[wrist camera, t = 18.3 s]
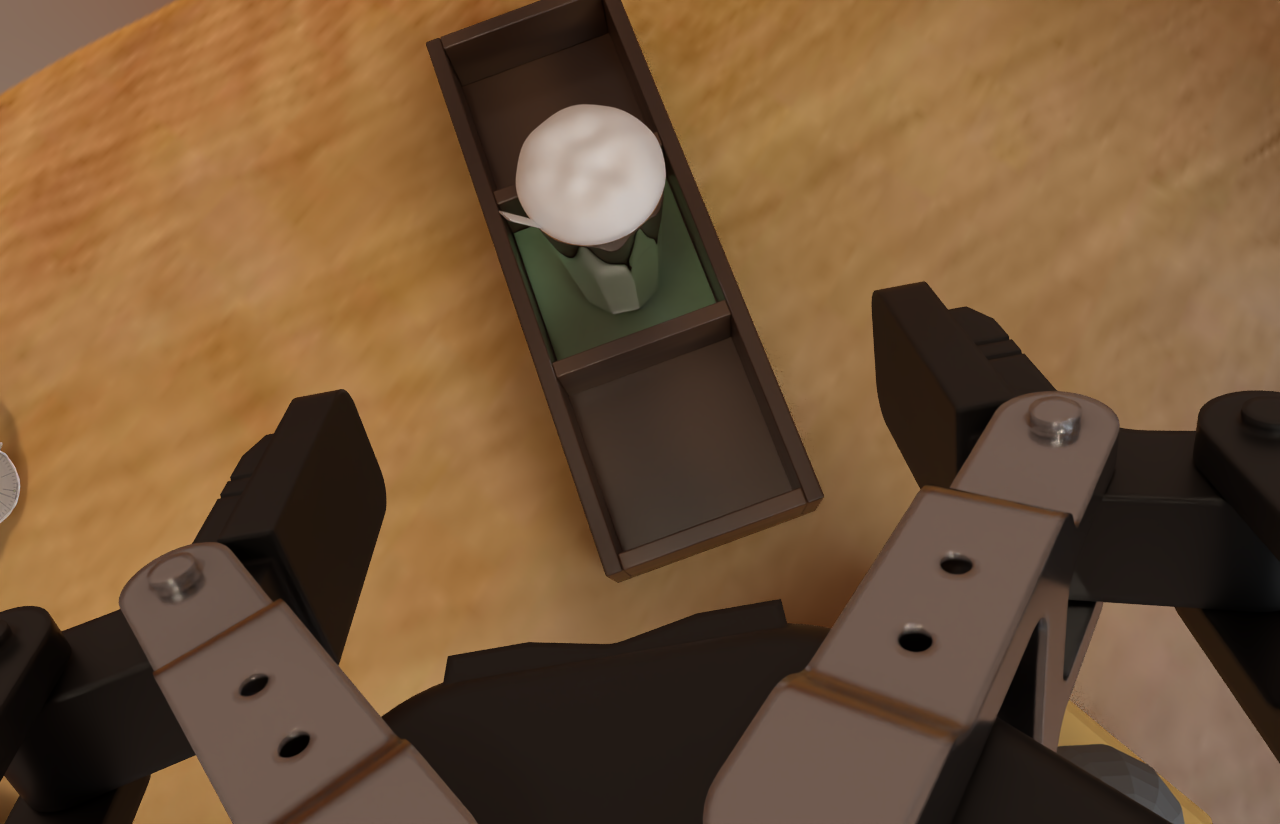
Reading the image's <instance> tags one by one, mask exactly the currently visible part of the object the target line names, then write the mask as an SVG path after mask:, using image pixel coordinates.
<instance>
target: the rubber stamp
mask: <svg viewBox="0 0 1280 824" xmlns="http://www.w3.org/2000/svg"><path fill="white" fill-rule="evenodd" d="M1056 753H1057V754H1059V755H1061V756H1062V757H1064V758H1065V759H1067V760H1069V761H1070V762H1072V763H1074V764H1075V765H1077V766H1079V767H1080V768H1082V769H1084V770H1085V771H1087V772H1089V773H1090V774H1092V775H1093V776H1095V777H1097V778H1098V779H1100V780H1102V781H1103V782H1105V783H1107V784H1108V785H1110V786H1112V787H1113V788H1115V789H1117V790H1118V791H1120V792H1121V793H1123V794H1125V795H1126V796H1128V797H1130V798H1131V799H1133V800H1135V801H1136V802H1138V803H1140V804H1141V805H1143V806H1145V807H1146V808H1148V809H1150V810H1151V811H1153V812H1154V813H1156V814H1158V815H1159V816H1161V817H1163V818H1164V819H1166V820H1168V821H1169V822H1171V823H1173V824H1213V823H1212V820H1211V818H1210V817H1209V816H1208V814H1206V813H1205V812H1204V811H1203V810H1202V809H1200V808H1199V807H1198V806H1197V805H1195V804H1194V803H1193V802H1192V801H1191V800H1189V799H1188V798H1187V797H1186V796H1185V795H1183V794H1182V793H1181V792H1180V791H1179V790H1177V789H1176V788H1175V787H1174V786H1173V785H1171V784H1170V783H1169V782H1168V781H1166V780H1165V779H1164V778H1163V777H1162V776H1160V775H1159V774H1158V773H1157V772H1156V771H1155V770H1154V769H1153V768H1152V767H1150V766H1149V765H1148V764H1146V763H1145V762H1144V761H1142V760H1141V759H1140V758H1139V757H1137V756H1136V755H1135V754H1134V753H1133V752H1131V751H1130V750H1129V749H1128V748H1127V747H1125V746H1124V745H1123V744H1122V743H1121V742H1119V741H1118V740H1117V739H1116V738H1115V737H1113V736H1112V735H1111V734H1110V733H1108V732H1107V731H1106V730H1105V729H1104V728H1102V727H1101V726H1100V725H1099V724H1098V723H1096V722H1095V721H1094V720H1093V719H1092V718H1090V717H1089V716H1088V715H1087V714H1086V713H1084V712H1083V711H1082V710H1081V709H1079V708H1078V707H1077V706H1076V705H1075V704H1073V703H1072V702H1071V701H1070V700H1069V701H1068V704H1067V707H1066V710H1065V714H1064V717H1063V721H1062V726H1061V731H1060V736H1059V742H1058V747H1057V752H1056Z"/></svg>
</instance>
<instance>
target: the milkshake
mask: <svg viewBox="0 0 1280 824" xmlns="http://www.w3.org/2000/svg"><path fill="white" fill-rule="evenodd" d="M665 180H666V169H665V162H664V158H663V154H662V150H661V147H660V145H659V142H658V140H657V138H656V137H655V135H654V134H653V133H652V131H651V130H650V129H649V128H648V127H647V126H646V125H645V124H643V123H642V122H641V121H640V120H638V119H637V118H635V117H634V116H632V115H631V114H629V113H627V112H625V111H623V110H620V109H617V108H613V107H608V106H601V105H589V104H582V105H574V106H570V107H567V108H565V109H562V110H560V111H558V112H556V113H555V114H553V115H552V116H551V117H549V118H548V119H547V120H545V121H544V122H543V123H542V124H541V125H539V126H538V127H537V128H536V129H535V130H533V131H532V132H531V133H530V135H529V136H528V137H527V139H526V140H525V142H524V144H523V146H522V148H521V151H520V155H519V159H518V165H517V172H516V190H517V195H518V198H519V201H520V203H521V205H522V207H523V209H524V211H525V212H526V214H527V215H528V217H529V218H530V219H529V218H526V217H522V216H518V215H514V214H511V213H507V212H503V211H499V213H500V214H502V215H503V216H504V217H505V218H506V219H507V220H509V221H511V222H515V223H519V224H523V225H527V226H531V227H535V228H537V229H538V230H539V231H540V233H541V234H542V235H543V237H544V238H545V239H546V241H547V242H548V243H549V244H550V246H551V247H552V248H553V250H554V251H555V252H556V254H557V255H558V256H559V258H560V259H561V260H562V262H563V263H564V265H565V266H566V268H567V269H568V271H569V272H570V274H571V276H572V277H573V279H574V280H575V282H576V283H577V285H578V286H579V288H580V290H581V291H582V293H583V294H584V296H585V297H586V299H587V300H588V302H589V303H590V304H592V305H594V306H596V307H599V308H601V309H603V310H606V311H608V312H610V313H612V314H616V313H621V312H626V311H631V310H636V309H640V308H641V307H642V306H643V305H644V304H645V303H646V302H647V301H648V300H649V299H650V298H651V297H652V296H653V295H654V294H655V293H656V292H657V291H658V288H659V281H660V274H661V267H662V214H663V203H664V189H665Z"/></svg>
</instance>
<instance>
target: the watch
mask: <svg viewBox="0 0 1280 824" xmlns="http://www.w3.org/2000/svg"><path fill="white" fill-rule="evenodd" d="M2 444H3V443H1V442H0V450H1V447H2ZM19 493H20V478H19V476H18V473H17V471H16V468H15V466H14V464H13V463H12V462H11V460H10V459H9V457H8V456H7V455H6V453H4V452H2V451H0V523H1V522H2V521H3V520H5V519H6V518H7V517H8V516H9V515H10V514H11V512H12V510H13V509H14V507H15V506H16V504H17V501H18V498H19Z"/></svg>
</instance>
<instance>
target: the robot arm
mask: <svg viewBox="0 0 1280 824" xmlns="http://www.w3.org/2000/svg"><path fill="white" fill-rule="evenodd" d="M872 321H873V337H874V354H875V370H876V384H877V393H878V398H879V403H880V407H881V411H882V414H883V418H884V420H885V423H886V425H887V427H888V429H889V430H890V432H891V434H892V436H893V438H894V440H895V442H896V444H897V446H898V448H899V449H900V451H901V453H902V455H903V457H904V459H905V461H906V463H907V465H908V466H909V468H910V470H911V472H912V474H913V476H914V478H915V480H916V482H917V484H918V485H919V487H920V489H921V490H920V491H919V492H918V494H917V495H916V497H915V498H914V500H913V502H912V503H911V505H910V506H909V508H908V509H907V511H906V512H905V514H904V516H903V517H902V519H901V520H900V522H899V523H898V525H897V527H896V528H895V530H894V531H893V533H892V534H891V536H890V538H889V539H888V541H887V542H886V544H885V545H884V547H883V549H882V550H881V552H880V553H879V555H878V556H877V558H876V559H875V561H874V563H873V564H872V566H871V567H870V569H869V570H868V572H867V574H866V575H865V577H864V578H863V580H862V581H861V583H860V585H859V586H858V588H857V589H856V591H855V592H854V594H853V595H852V597H851V599H850V600H849V602H848V603H847V605H846V606H845V608H844V610H843V611H842V613H841V614H840V616H839V617H838V619H837V621H836V622H835V624H834V625H833V627H832V628H831V629H830V628H826V627H821V626H814V625H806V624H791V623H787V621H786V617H785V613H784V610H783V606H782V602H781V599H778V600H772V601H767V602H761V603H755V604H749V605H743V606H737V607H732V608H726V609H720V610H714V611H708V612H702V613H697V614H695V615H692V616H689V617H686V618H684V619H681V620H678V621H676V622H673V623H670V624H667V625H665V626H662V627H659V628H657V629H654V630H651V631H649V632H646V633H643V634H640V635H638V636H635V637H632V638H630V639H627V640H624V641H621V642H618V643H613V644H575V643H536V642H527V643H522V644H516V645H510V646H504V647H498V648H492V649H487V650H481V651H475V652H469V653H463V654H457V655H452V656H448V659H447V664H446V670H445V676H444V682H443V683H441V684H438V685H436V686H433V687H431V688H429V689H427V690H425V691H423V692H421V693H419V694H416V695H415V696H413V697H411V698H409V699H408V700H406V701H404V702H403V703H401V704H399V705H398V706H396V707H395V708H393V709H392V710H390V711H389V712H388V713H386V714H385V715H383V716H382V717H380V715H379V714H378V713H377V712H376V711H375V709H374V708H373V707H372V706H371V705H370V703H369V702H368V701H367V700H366V699H365V697H364V696H363V695H362V694H361V693H360V691H359V690H358V689H357V688H356V687H355V685H354V684H353V683H352V682H351V681H350V679H349V678H348V677H347V676H346V675H345V673H344V672H343V671H342V670H341V669H340V667H339V666H338V665H339V662H340V659H341V656H342V653H343V649H344V646H345V643H346V640H347V636H348V633H349V630H350V626H351V623H352V620H353V617H354V613H355V610H356V607H357V604H358V600H359V597H360V594H361V590H362V587H363V584H364V581H365V577H366V574H367V571H368V567H369V564H370V561H371V558H372V554H373V551H374V548H375V545H376V541H377V538H378V535H379V531H380V528H381V525H382V522H383V518H384V515H385V511H386V489H385V483H384V479H383V475H382V472H381V470H380V467H379V465H378V462H377V459H376V457H375V454H374V452H373V449H372V447H371V444H370V442H369V439H368V437H367V434H366V431H365V429H364V426H363V424H362V421H361V419H360V416H359V414H358V411H357V409H356V406H355V404H354V401H353V399H352V398H351V396H350V395H349V393H348V392H347V391H345V390H343V389H340V390H335V391H329V392H324V393H319V394H313V395H308V396H303V397H297V398H294V399H293V400H292V401H291V403H290V405H289V407H288V409H287V410H286V412H285V414H284V416H283V418H282V420H281V422H280V423H279V425H278V427H277V429H276V431H275V433H274V434H269V435H266V436H264V437H263V438H262V439H261V440H260V441H259V442H258V443H257V444H255V445H254V446H253V447H252V448H251V449H250V450H249V451H248V452H246V453H245V454H244V455H243V456H242V458H241V459H240V461H239V463H238V465H237V466H236V468H235V470H234V472H233V473H232V475H231V477H230V478H231V481H228V482H227V484H226V486H225V487H224V489H223V491H222V493H221V494H220V495H221V499H218V500H217V501H216V503H215V505H214V507H213V508H212V510H211V512H210V514H209V515H208V517H207V519H206V520H205V522H204V524H203V526H202V527H201V529H200V531H199V533H198V534H197V536H196V538H195V540H194V541H193V543H192V544H190V545H187V546H184V547H180V548H178V549H175V550H173V551H170V552H168V553H166V554H164V555H162V556H160V557H158V558H157V559H155V560H153V561H152V562H150V563H149V564H147V565H146V566H144V567H143V568H142V569H141V570H139V571H138V572H137V573H136V574H135V575H134V576H133V577H132V578H131V579H130V580H129V581H128V582H127V584H126V585H125V586H124V588H123V590H122V592H121V594H120V597H119V606H120V609H119V610H117V611H115V612H112V613H109V614H107V615H104V616H101V617H99V618H96V619H93V620H91V621H88V622H86V623H83V624H80V625H78V626H75V627H72V628H70V629H67V630H64V631H62V632H61V630H60V629H59V628H58V626H57V625H56V623H55V622H54V620H53V619H52V617H51V616H50V614H49V613H48V612H47V611H46V610H45V609H43V608H40V607H36V606H23V607H17V608H13V609H9V610H5V611H2V612H0V781H1V780H2V778H3V776H5V777H6V779H7V780H8V781H9V782H10V784H11V785H12V786H13V787H14V789H15V790H16V791H17V792H18V794H19V795H20V796H19V797H18V799H17V801H16V803H15V805H14V807H13V809H12V810H11V812H10V814H9V816H8V818H7V820H6V822H5V823H4V824H132V822H133V820H134V818H135V815H136V813H137V810H138V808H139V805H140V803H141V800H142V798H143V795H144V793H145V790H146V788H147V786H148V783H149V780H150V776H151V774H152V773H154V772H157V771H159V770H161V769H164V768H166V767H169V766H171V765H173V764H176V763H178V762H180V761H183V760H185V759H187V758H190V757H192V756H195V755H196V756H197V758H198V760H199V761H200V763H201V765H202V767H203V769H204V771H205V773H206V775H207V776H208V778H209V780H210V782H211V784H212V786H213V788H214V789H215V791H216V793H217V795H218V797H219V799H220V801H221V802H222V804H223V806H224V808H225V810H226V812H227V814H228V815H229V817H230V819H231V821H232V823H233V824H1173V823H1171V822H1169V821H1168V820H1166V819H1164V818H1163V817H1161V816H1159V815H1158V814H1156V813H1154V812H1153V811H1151V810H1150V809H1148V808H1146V807H1145V806H1143V805H1141V804H1140V803H1138V802H1136V801H1135V800H1133V799H1131V798H1130V797H1128V796H1126V795H1125V794H1123V793H1121V792H1120V791H1118V790H1117V789H1115V788H1113V787H1112V786H1110V785H1108V784H1107V783H1105V782H1103V781H1102V780H1100V779H1098V778H1097V777H1095V776H1093V775H1092V774H1090V773H1089V772H1087V771H1085V770H1084V769H1082V768H1080V767H1079V766H1077V765H1075V764H1074V763H1072V762H1070V761H1069V760H1067V759H1065V758H1064V757H1062V756H1061V755H1059V754H1057V753H1056V752H1057V747H1058V742H1059V736H1060V731H1061V726H1062V721H1063V717H1064V714H1065V710H1066V707H1067V704H1068V701H1069V699H1070V696H1071V693H1072V690H1073V688H1074V685H1075V682H1076V679H1077V676H1078V674H1079V671H1080V668H1081V665H1082V663H1083V660H1084V657H1085V654H1086V652H1087V649H1088V646H1089V643H1090V641H1091V638H1092V635H1093V632H1094V630H1095V627H1096V624H1097V621H1098V619H1099V616H1100V613H1101V610H1102V607H1103V602H1111V603H1126V604H1141V605H1157V606H1172V607H1175V609H1176V611H1177V613H1178V614H1179V616H1180V617H1181V619H1182V620H1183V622H1184V623H1185V625H1186V626H1187V628H1188V629H1189V631H1190V632H1191V633H1192V635H1193V636H1194V638H1195V639H1196V641H1197V642H1198V644H1199V645H1200V647H1201V648H1202V650H1203V651H1204V653H1205V654H1206V656H1207V657H1208V658H1209V660H1210V661H1211V663H1212V664H1213V666H1214V667H1215V669H1216V670H1217V672H1218V673H1219V675H1220V676H1221V678H1222V679H1223V681H1224V682H1225V683H1226V685H1227V686H1228V688H1229V689H1230V691H1231V692H1232V694H1233V695H1234V697H1235V698H1236V700H1237V701H1238V703H1239V704H1240V706H1241V707H1242V708H1243V710H1244V711H1245V713H1246V714H1247V716H1248V717H1249V719H1250V720H1251V722H1252V723H1253V725H1254V726H1255V728H1256V729H1257V731H1258V732H1259V733H1260V735H1261V736H1262V738H1263V739H1264V741H1265V742H1266V744H1267V745H1268V747H1269V748H1270V750H1271V751H1272V753H1273V754H1274V756H1275V757H1276V758H1277V760H1278V761H1279V763H1280V392H1274V391H1241V392H1234V393H1229V394H1225V395H1222V396H1218V397H1216V398H1214V399H1212V400H1210V401H1209V402H1207V403H1206V404H1204V406H1203V407H1202V408H1201V409H1200V412H1199V414H1198V421H1197V428H1196V431H1147V430H1132V429H1124V428H1119V427H1120V425H1119V419H1118V417H1117V415H1116V414H1115V413H1114V412H1113V410H1112V409H1111V408H1109V407H1108V406H1107V405H1105V404H1103V403H1102V402H1100V401H1098V400H1096V399H1093V398H1091V397H1088V396H1084V395H1081V394H1076V393H1070V392H1061V391H1057V390H1056V389H1055V388H1054V387H1053V386H1052V385H1051V383H1050V382H1049V381H1048V380H1047V379H1046V378H1045V377H1044V375H1043V374H1042V373H1041V372H1040V371H1039V370H1038V369H1037V367H1036V366H1035V365H1034V364H1033V363H1032V362H1031V361H1030V360H1029V358H1028V357H1027V356H1026V355H1025V354H1022V353H1021V349H1020V348H1019V347H1018V346H1017V345H1016V344H1015V342H1014V341H1013V340H1012V339H1011V340H1009V336H1008V334H1007V333H1006V332H1005V331H1004V330H1003V329H1002V328H1001V326H1000V325H999V324H998V323H997V322H996V321H995V320H994V319H993V318H991V317H989V316H986V315H984V314H982V313H980V312H978V311H975V310H973V309H971V308H969V307H960V308H955V309H950V310H948V309H947V308H946V307H945V305H944V304H943V303H942V302H941V300H940V299H939V298H938V297H937V295H936V294H935V293H934V292H933V290H932V289H931V288H930V286H929V285H928V284H927V283H926V282H918V283H913V284H907V285H902V286H897V287H891V288H886V289H881V290H875V291H874V292H873V295H872Z"/></svg>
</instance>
